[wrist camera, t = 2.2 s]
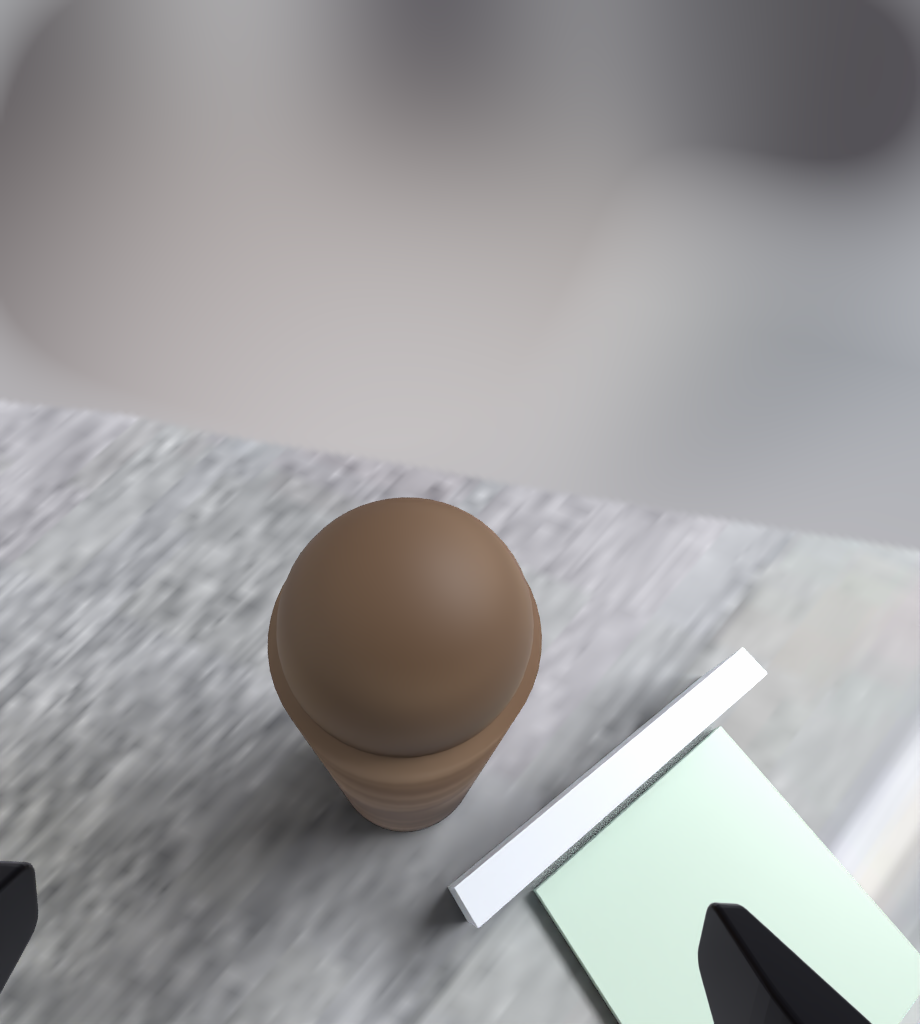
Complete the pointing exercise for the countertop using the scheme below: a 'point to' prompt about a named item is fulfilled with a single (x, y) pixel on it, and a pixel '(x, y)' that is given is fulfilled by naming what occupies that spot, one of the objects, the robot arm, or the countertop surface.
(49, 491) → the countertop surface
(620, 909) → the coaster
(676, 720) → the rail
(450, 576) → the pepper mill
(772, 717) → the countertop surface
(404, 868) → the countertop surface
